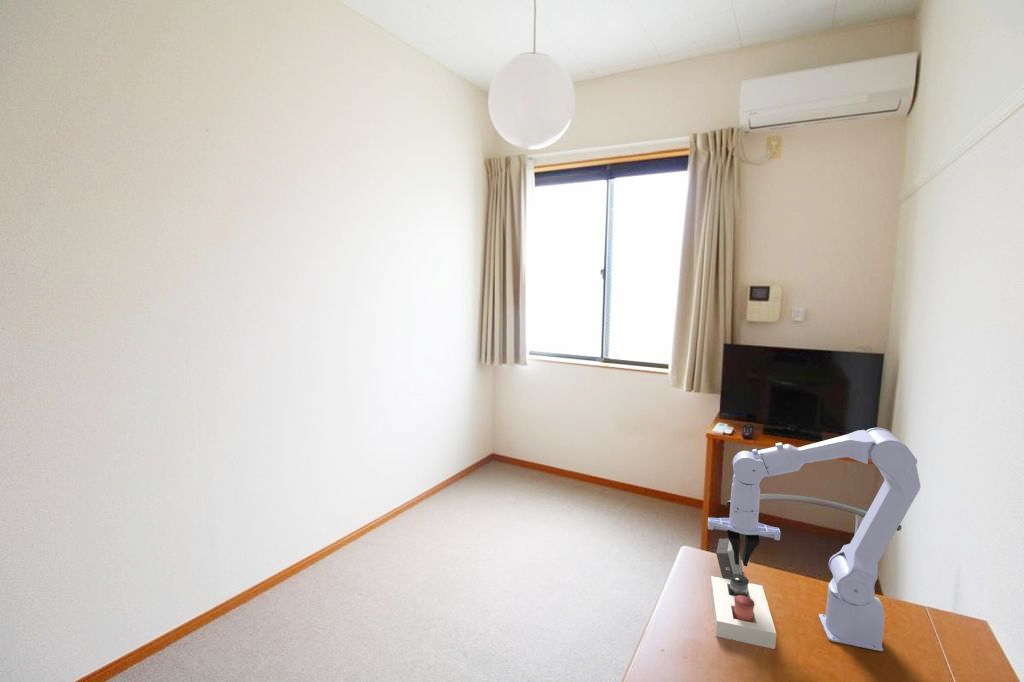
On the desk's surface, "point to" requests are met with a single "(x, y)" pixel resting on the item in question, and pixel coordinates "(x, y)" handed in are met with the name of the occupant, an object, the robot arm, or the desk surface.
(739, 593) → the graphite plug
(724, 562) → the electrical switch
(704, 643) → the desk surface
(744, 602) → the red plug
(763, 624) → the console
